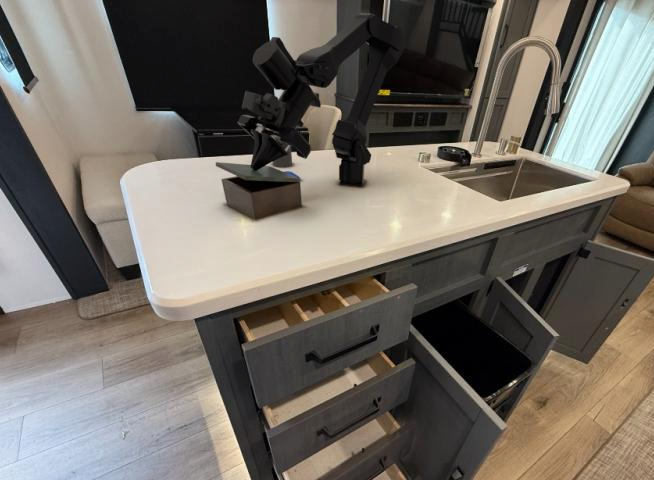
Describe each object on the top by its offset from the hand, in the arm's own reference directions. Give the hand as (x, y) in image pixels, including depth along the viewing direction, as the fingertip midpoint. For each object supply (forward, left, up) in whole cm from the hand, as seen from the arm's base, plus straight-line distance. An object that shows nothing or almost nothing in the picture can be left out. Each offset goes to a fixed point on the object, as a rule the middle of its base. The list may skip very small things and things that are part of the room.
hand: (253, 169), depth 69 cm
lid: (-1, -1, -1) cm, 2 cm away
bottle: (+6, -35, -9) cm, 37 cm away
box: (-1, -1, -8) cm, 9 cm away
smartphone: (+4, -19, -8) cm, 21 cm away
